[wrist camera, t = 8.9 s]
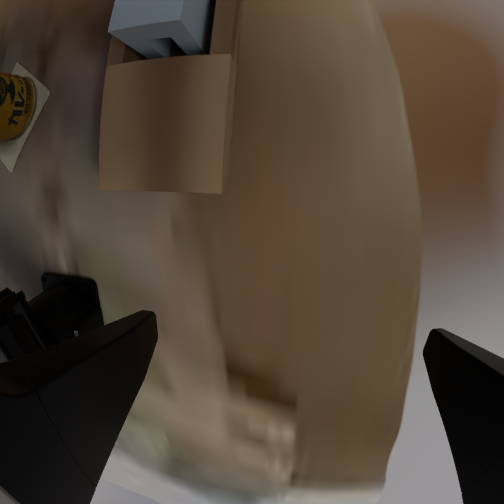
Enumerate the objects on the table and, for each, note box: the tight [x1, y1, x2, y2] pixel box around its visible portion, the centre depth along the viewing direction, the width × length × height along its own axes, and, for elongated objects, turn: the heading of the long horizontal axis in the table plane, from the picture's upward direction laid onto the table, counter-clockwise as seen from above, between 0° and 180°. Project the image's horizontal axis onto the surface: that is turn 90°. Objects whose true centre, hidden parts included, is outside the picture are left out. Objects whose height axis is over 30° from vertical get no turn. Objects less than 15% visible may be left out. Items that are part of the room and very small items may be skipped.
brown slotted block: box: [99, 0, 243, 194], centre depth 15 cm, size 8×20×3 cm, turn 176°
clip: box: [108, 0, 214, 59], centre depth 13 cm, size 4×4×7 cm
